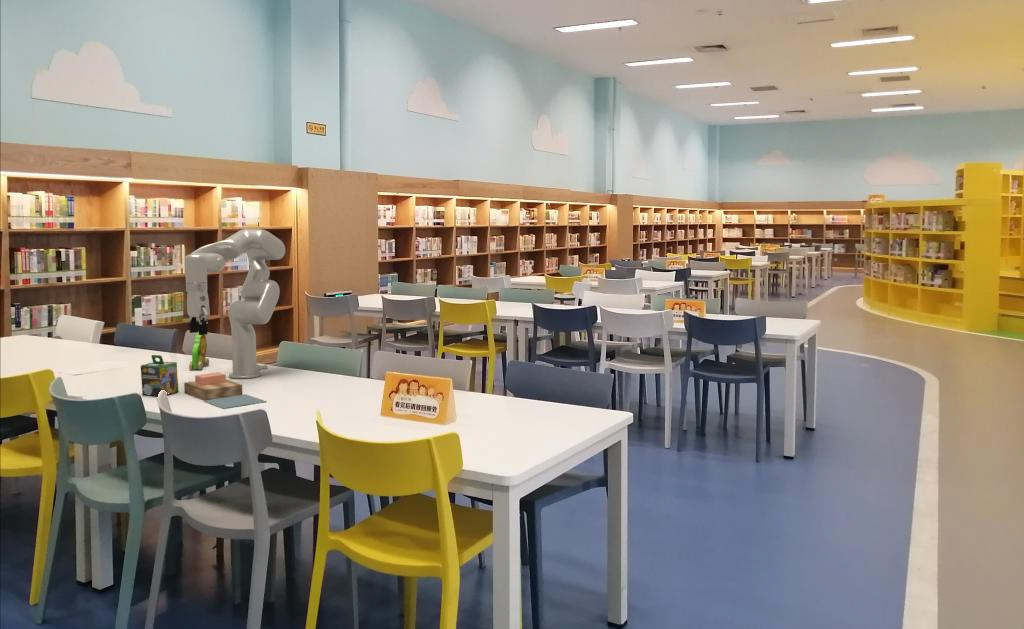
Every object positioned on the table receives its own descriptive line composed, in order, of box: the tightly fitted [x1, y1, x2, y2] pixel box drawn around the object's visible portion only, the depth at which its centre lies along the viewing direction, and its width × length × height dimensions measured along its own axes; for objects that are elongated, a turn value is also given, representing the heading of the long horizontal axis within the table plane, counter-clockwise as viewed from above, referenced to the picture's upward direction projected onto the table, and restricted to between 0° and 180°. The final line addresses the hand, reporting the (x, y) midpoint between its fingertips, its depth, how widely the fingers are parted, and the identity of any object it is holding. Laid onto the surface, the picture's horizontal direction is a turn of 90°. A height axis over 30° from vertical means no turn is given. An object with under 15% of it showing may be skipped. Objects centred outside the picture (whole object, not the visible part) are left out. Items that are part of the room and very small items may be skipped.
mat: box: [202, 393, 264, 410], centre depth 284 cm, size 16×16×1 cm
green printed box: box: [140, 354, 179, 397], centre depth 296 cm, size 9×9×15 cm
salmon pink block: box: [194, 372, 227, 386], centre depth 297 cm, size 9×6×3 cm, turn 135°
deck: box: [183, 379, 243, 401], centre depth 296 cm, size 14×18×4 cm
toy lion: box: [188, 332, 210, 371], centre depth 350 cm, size 16×5×15 cm, turn 6°
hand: (198, 333), depth 302 cm, fingers open, 7 cm apart
